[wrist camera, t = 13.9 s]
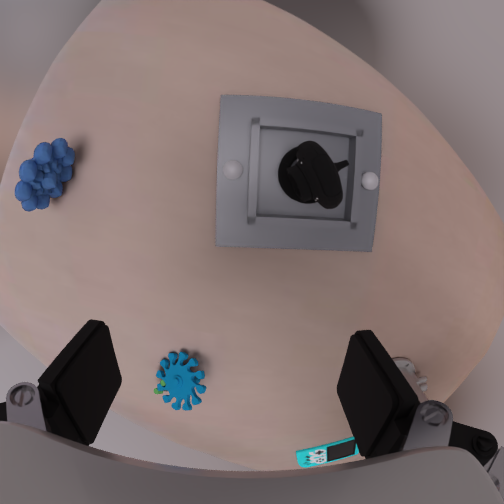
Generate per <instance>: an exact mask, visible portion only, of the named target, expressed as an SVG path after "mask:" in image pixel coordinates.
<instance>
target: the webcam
mask: <svg viewBox="0 0 504 504" xmlns="http://www.w3.org/2000/svg"><path fill="white" fill-rule="evenodd" d="M296 159H297V163H296V164H295V165H294V166H291V165H292V164H293V162H294V161H295V160H296ZM348 165H349V162H348V161H347V160H344V161H341V162H338V163H333V161H332V159H331V158H330V156H329V155H328V154H327V152H326V151H325V150H324V149H323V148H322V147H321V146H320V145H319V144H318V143H316V142H315V141H305V142H303V143H301V144H300V145H299V146H297V147H295V148H293V149H291V150H289V151H288V152H287V153H286V154H285V155H284V157H283V158H282V160H281V163H280V165H279V169H278V178H279V183H280V185H281V188H282V189H283V191H284V192H285V193H286V194H287V195H288V196H289V197H290V198H291V199H293V200H295V201H298V202H300V203H304V204H312V203H316V202H318V203H319V204H320V205H321V206H322V207H324V208H325V209H334V208H336V207H338V205H339V204H340V203H341V202H342V199H343V190H342V185H341V180H340V176H339V174H338V172H339V171H340V170H341V169H343V168H345V167H347V166H348Z"/></svg>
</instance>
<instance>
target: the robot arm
mask: <svg viewBox="0 0 504 504" xmlns="http://www.w3.org/2000/svg"><path fill="white" fill-rule="evenodd" d="M426 381H427V377H426V376H423V377H420V378H418V377H417V376H416V375H415V367H414V365H413V364H412V362H411V361H410V360H408V359H406V358H394V359H392V358H391V357H390V355H389V354H388V353H387V351H386V350H385V348H384V347H383V346H382V344H381V343H380V341H379V340H378V339H377V337H376V336H375V335H374V333H373V332H372V331H371V330H361V331H356V332H355V335H352V336H351V338H350V341H349V345H348V349H347V353H346V356H345V360H344V364H343V367H342V371H341V374H340V378H339V381H338V384H337V394H338V396H339V399H340V402H341V404H342V407H343V410H344V412H345V415H346V417H347V420H348V423H349V425H350V428H351V431H352V434H353V436H354V439H355V442H356V444H357V447H358V450H359V453H360V455H361V456H365V458H366V459H364V460H359V461H354V462H348V463H343V464H336V465H330V466H323V467H315V468H306V469H296V470H281V471H220V470H206V469H195V468H186V467H178V466H171V465H164V464H159V463H153V462H148V461H142V460H138V459H134V458H129V457H125V456H121V455H117V454H113V453H110V452H106V451H103V450H99V449H96V448H93V447H90V446H89V444H92V443H93V442H94V440H95V438H96V436H97V434H98V432H99V430H100V427H101V425H102V423H103V421H104V419H105V417H106V415H107V412H108V410H109V408H110V406H111V404H112V402H113V400H114V398H115V396H116V394H117V392H118V390H119V388H120V386H121V382H122V377H121V374H120V370H119V367H118V363H117V359H116V356H115V352H114V348H113V344H112V340H111V335H110V331H109V327H108V326H107V325H105V323H104V322H103V321H98V320H89V321H88V322H87V323H86V324H85V325H84V326H83V327H82V328H81V329H80V331H79V332H78V333H77V334H76V335H75V336H74V337H73V339H72V340H71V341H70V342H69V343H68V344H67V345H66V347H65V348H64V349H63V350H62V351H61V352H60V354H59V355H58V356H57V357H56V358H55V360H54V361H53V362H52V363H51V364H50V366H49V367H48V368H47V369H46V370H45V372H44V373H43V374H42V376H41V377H40V378H39V379H38V382H39V386H38V387H36V386H35V385H34V384H32V383H28V382H22V383H18V384H16V385H14V386H13V387H11V389H10V390H9V391H8V393H7V397H6V402H3V403H0V504H504V447H502V446H501V448H500V449H498V445H497V444H498V443H497V440H496V439H495V437H494V436H493V435H492V434H491V433H489V432H487V431H484V430H480V429H477V428H473V427H470V426H467V425H463V424H460V423H457V422H454V421H453V415H452V412H451V410H450V409H449V407H448V406H447V405H445V404H444V403H442V402H439V401H435V400H428V399H427V397H426V396H425V394H424V393H423V391H426V390H427V383H424V382H426ZM419 383H421V384H419Z"/></svg>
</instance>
